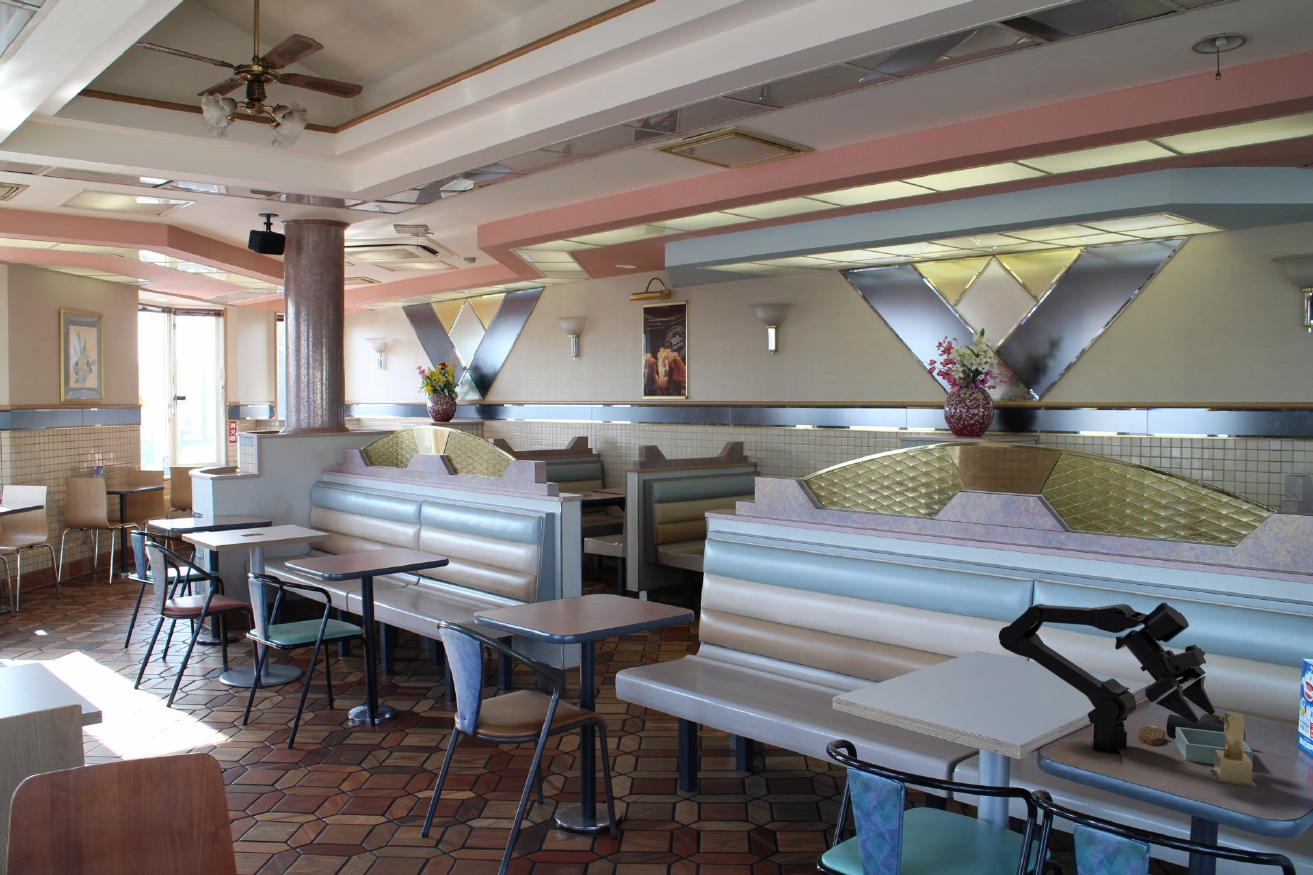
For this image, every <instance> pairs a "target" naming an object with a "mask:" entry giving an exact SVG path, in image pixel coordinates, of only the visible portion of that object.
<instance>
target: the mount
mask: <svg viewBox="0 0 1313 875" xmlns="http://www.w3.org/2000/svg"><path fill="white" fill-rule="evenodd" d="M1209 772H1210V773H1211V775H1212V776H1213V778H1214V779H1215V781H1216V782H1218V783H1226V784H1234V785H1242V786H1249V787H1257V785H1256V783H1255V782H1254V781H1253V780H1252V785H1250V784H1242V783H1235V782H1227V781H1220V780H1219V778H1218V777H1217V775H1216V774H1215V772H1214V769H1209Z"/></svg>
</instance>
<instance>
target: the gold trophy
mask: <svg viewBox="0 0 1313 875" xmlns="http://www.w3.org/2000/svg"><path fill="white" fill-rule="evenodd" d="M1224 722H1225V723H1224V751H1221V750H1215V754H1214V764H1213V770H1214V772H1215V774H1216V775H1217V777H1218V778H1219V780H1220V781H1227V782H1235V783H1242V784H1250V785H1252V781H1253V760H1252V761H1251V760H1250V759H1249V757H1248V756H1247V755H1246V753H1243V741H1244V730H1245V715H1244V714H1242V713H1239V712H1235V711H1234V712H1233V711H1227V712H1226V711H1225V712H1224Z"/></svg>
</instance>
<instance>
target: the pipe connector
mask: <svg viewBox="0 0 1313 875" xmlns="http://www.w3.org/2000/svg"><path fill="white" fill-rule="evenodd" d="M1224 723H1225V715H1219V714H1217V713H1214V714H1212V715H1210V714H1209V713H1207V712H1204V713H1203V714H1202V715H1201V717H1200V719H1199V721H1198V722H1197V723H1193V722H1191V721H1189V720H1187V719H1186V718H1184V717H1182V716H1180V715H1178V714H1176V715H1175V714H1173V713H1172V714H1169V715H1168V717H1167V720H1166V735H1167V736H1168V735H1170V736H1169V737H1173V736H1176V727H1181V728H1189V729H1198V730H1207V731H1216V732H1224ZM1244 742H1245V743H1246V731H1245V729H1244Z"/></svg>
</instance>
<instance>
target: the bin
mask: <svg viewBox="0 0 1313 875" xmlns="http://www.w3.org/2000/svg"><path fill="white" fill-rule="evenodd" d="M1174 739H1175V742H1174V743H1175V744H1176V746H1177V748H1178V750H1179V751H1180V753H1181V755H1182V757H1183V759H1184V760H1185V761H1186V762H1194V763H1204V764H1209V765H1214V754H1215V750H1221V751H1224V732H1216V731H1207V730H1198V729H1189V728H1181V727H1176V737H1174ZM1243 753H1246V755H1247V756H1248V757H1249V759H1250V760H1251V761H1252V762H1253V754H1254V752H1253V750H1252V749H1251V748H1250V747H1249V745H1248V744H1247V743H1246V741H1245V742H1244V741H1243Z"/></svg>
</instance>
